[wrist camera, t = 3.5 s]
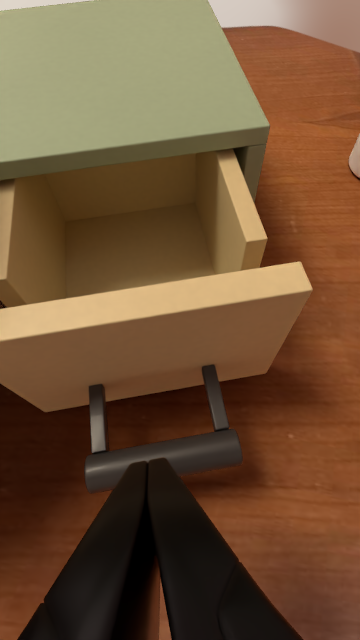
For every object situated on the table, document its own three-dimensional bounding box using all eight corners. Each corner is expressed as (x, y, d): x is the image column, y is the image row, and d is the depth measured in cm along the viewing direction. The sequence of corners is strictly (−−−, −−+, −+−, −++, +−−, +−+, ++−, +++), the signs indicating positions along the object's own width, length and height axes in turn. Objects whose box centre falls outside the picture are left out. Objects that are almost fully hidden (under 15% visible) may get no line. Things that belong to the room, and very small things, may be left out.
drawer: (293, 459, 16) (371, 423, 9) (42, 507, 15) (-82, 508, 8) (214, 204, 24) (223, 81, 17) (48, 228, 23) (-13, 111, 16)
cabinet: (240, 271, 22) (271, 125, 14) (42, 303, 21) (-56, 169, 13) (198, 141, 28) (202, -13, 20) (46, 162, 28) (-17, 12, 19)
